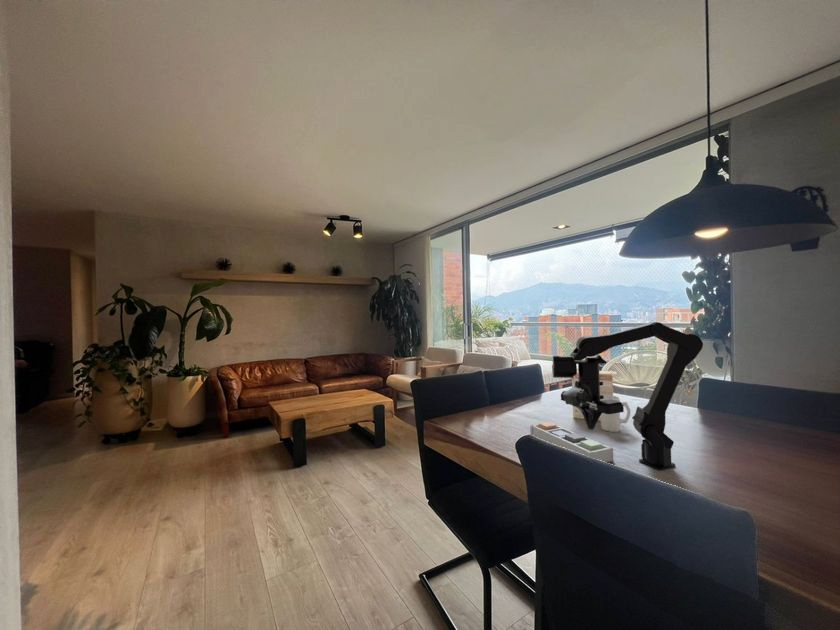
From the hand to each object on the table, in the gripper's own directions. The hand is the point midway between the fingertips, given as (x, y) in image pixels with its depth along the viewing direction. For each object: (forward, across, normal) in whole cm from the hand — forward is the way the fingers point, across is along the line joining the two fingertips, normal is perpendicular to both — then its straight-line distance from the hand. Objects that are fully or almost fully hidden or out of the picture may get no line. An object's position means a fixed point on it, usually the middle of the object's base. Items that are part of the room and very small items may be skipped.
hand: (591, 429), depth 104 cm
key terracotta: (+6, -20, 0) cm, 21 cm away
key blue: (+8, -13, 0) cm, 15 cm away
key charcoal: (+6, -7, 0) cm, 9 cm away
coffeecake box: (+9, -30, +32) cm, 45 cm away
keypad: (+9, -10, 0) cm, 13 cm away
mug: (+9, -16, +28) cm, 34 cm away
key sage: (+6, 0, 0) cm, 6 cm away
